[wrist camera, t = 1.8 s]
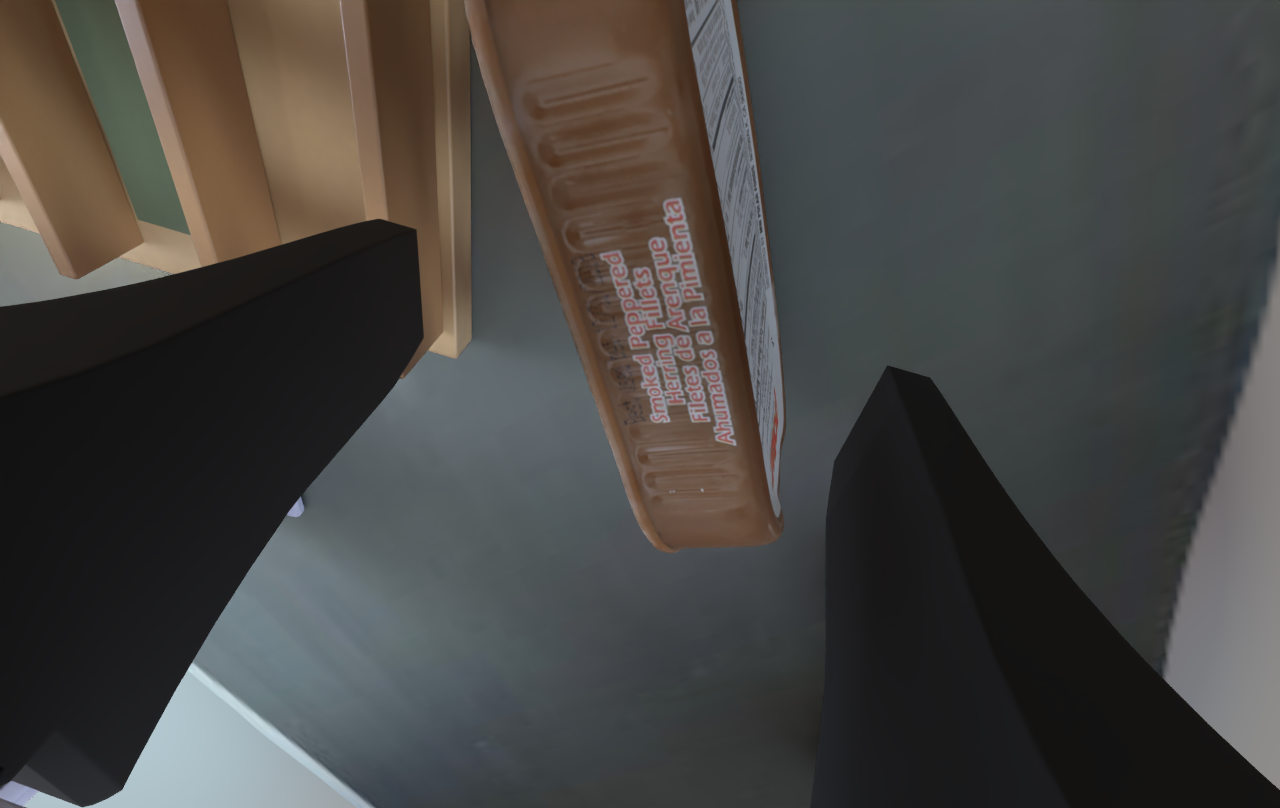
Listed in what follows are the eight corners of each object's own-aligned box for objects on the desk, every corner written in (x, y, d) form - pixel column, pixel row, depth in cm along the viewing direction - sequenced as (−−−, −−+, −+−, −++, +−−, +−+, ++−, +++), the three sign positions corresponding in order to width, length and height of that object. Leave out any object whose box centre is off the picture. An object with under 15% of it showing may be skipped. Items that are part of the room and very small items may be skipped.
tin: (568, -225, 12) (278, -302, 6) (733, -291, 11) (586, -465, 5) (708, 398, 21) (648, 628, 15) (809, 394, 20) (789, 640, 14)
